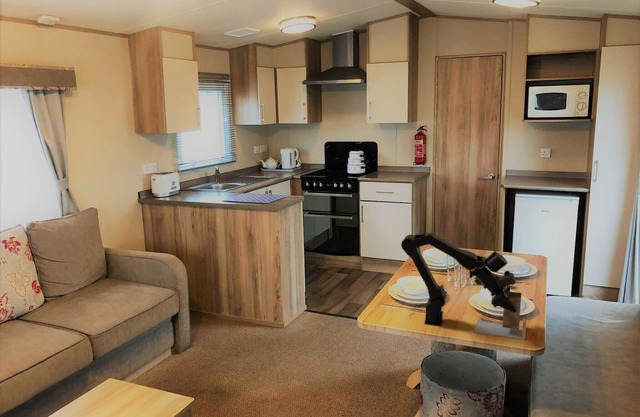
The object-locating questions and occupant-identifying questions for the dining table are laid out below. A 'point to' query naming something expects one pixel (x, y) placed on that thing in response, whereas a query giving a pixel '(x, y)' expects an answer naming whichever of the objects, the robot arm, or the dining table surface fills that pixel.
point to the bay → (500, 330)
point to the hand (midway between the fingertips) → (515, 308)
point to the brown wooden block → (510, 317)
